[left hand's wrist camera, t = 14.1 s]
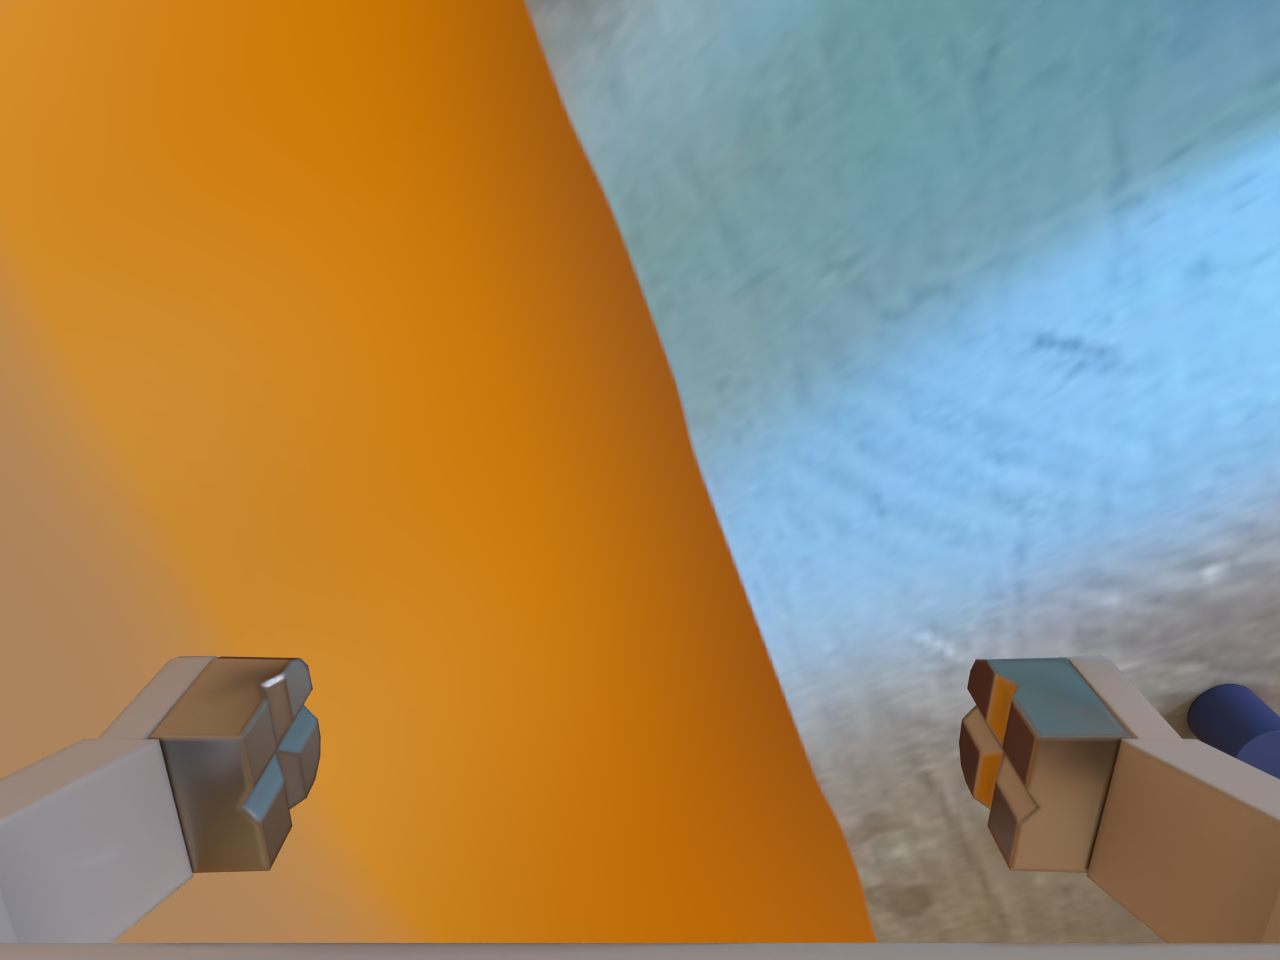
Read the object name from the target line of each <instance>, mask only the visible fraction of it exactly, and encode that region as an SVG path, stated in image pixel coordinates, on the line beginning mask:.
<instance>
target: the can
mask: <svg viewBox="0 0 1280 960" xmlns="http://www.w3.org/2000/svg"><path fill="white" fill-rule="evenodd" d="M1188 723H1189V727H1190V729H1191V730H1192V732H1193V733H1194V734H1195V735H1196V736H1197V737H1198V738H1199V739H1200V741H1201V742H1203V743H1205V744H1207V745H1209V746H1212V747H1214V748H1216V749H1218V750H1220V751H1222V752H1224V753H1226V754H1228V755H1230V756H1232V757H1234V758H1236V759H1238V760H1240V761H1242V762H1245V763H1247V764H1249V765H1251V766H1253V767H1255V768H1257V769H1259V770H1261V771H1263V772H1265V773H1267V774H1269V775H1271V776H1273V777H1276V778H1278V779H1280V717H1279V716H1278V715H1277V714H1276V713H1275V712H1274V711H1273V710H1271V709H1270V708H1269V707H1268V706H1267V705H1266V704H1265V703H1264V702H1263V701H1262V700H1260V699H1259V698H1258V697H1257V696H1256V695H1255V694H1254V693H1253V692H1252V691H1250V690H1249V689H1247V688H1245V687H1243V686H1239V685H1222V686H1218V687H1215V688H1212V689H1210V690H1208V691H1206V692H1205V693H1203V694H1202V695H1201V696H1200V697H1199V698H1198V699H1197V700H1196V701H1195V702H1194V703H1193V705H1192V706H1191V708H1190V711H1189V714H1188Z"/></svg>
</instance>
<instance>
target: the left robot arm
mask: <svg viewBox="0 0 1280 960" xmlns="http://www.w3.org/2000/svg"><path fill="white" fill-rule="evenodd" d="M312 689H313V688H312V683H311V678H310V673H309V668H308V665H307V664H306V663H305V662H304V661H303V660H302V659H301V658H264V657H216V656H189V657H177V658H174V659H170V660H169V661H168V662H167V663H166V664H165V665H164V667H163V668H162V669H161V670H160V671H159V672H158V673H157V674H156V675H155V676H154V678H153V679H152V680H151V681H150V682H149V683H148V684H147V685H146V686H145V687H144V689H143V690H142V691H141V692H140V693H139V694H138V695H137V696H136V697H135V698H134V699H133V701H132V702H131V703H130V704H129V705H128V706H127V707H126V708H125V709H124V710H123V712H122V713H121V714H120V715H119V716H118V717H117V718H116V719H115V720H114V722H113V723H112V724H111V725H110V726H109V727H108V728H107V729H106V730H105V731H104V732H103V734H102V735H101V736H100V737H99V738H98V739H83V740H81V741H79V742H77V743H75V744H73V745H71V746H68V747H66V748H64V749H62V750H60V751H58V752H56V753H54V754H52V755H50V756H48V757H46V758H44V759H42V760H39V761H37V762H35V763H33V764H31V765H29V766H27V767H25V768H23V769H21V770H19V771H17V772H15V773H13V774H10V775H8V776H7V777H4V778H2V779H0V960H1280V779H1278V778H1276V777H1273V776H1271V775H1269V774H1267V773H1265V772H1263V771H1261V770H1259V769H1257V768H1255V767H1253V766H1251V765H1249V764H1247V763H1245V762H1242V761H1240V760H1238V759H1236V758H1234V757H1232V756H1230V755H1228V754H1226V753H1224V752H1222V751H1220V750H1218V749H1216V748H1214V747H1212V746H1209V745H1207V744H1205V743H1203V742H1201V741H1199V740H1197V739H1182V738H1181V737H1180V736H1179V735H1178V734H1177V732H1176V731H1175V730H1174V729H1173V728H1172V727H1171V726H1170V725H1169V724H1168V723H1167V721H1166V720H1165V719H1164V718H1163V717H1162V716H1161V715H1160V714H1159V713H1158V712H1157V710H1156V709H1155V708H1154V707H1153V706H1152V705H1151V704H1150V703H1149V702H1148V701H1147V699H1146V698H1145V697H1144V696H1143V695H1142V694H1141V693H1140V692H1139V691H1138V690H1137V688H1136V687H1135V686H1134V685H1133V684H1132V683H1131V682H1130V681H1129V680H1128V679H1127V677H1126V676H1125V675H1124V674H1123V673H1122V672H1121V671H1120V670H1119V669H1118V668H1117V666H1116V665H1115V664H1114V663H1113V662H1112V661H1111V660H1109V659H1107V658H1104V657H1102V656H1081V657H1059V658H1025V659H977V660H976V661H975V663H974V665H973V667H972V669H971V671H970V677H969V682H968V687H967V689H968V691H969V692H970V694H971V696H972V698H973V699H974V701H975V703H976V704H977V705H976V706H975V707H974V708H973V709H972V710H971V711H970V712H969V713H968V714H967V715H966V716H965V717H964V718H963V719H962V724H961V732H960V740H959V747H960V759H961V767H962V770H963V774H964V777H965V781H966V783H967V785H968V788H969V790H970V792H971V794H972V796H973V798H974V799H976V800H977V801H979V802H980V803H982V804H983V805H984V806H986V807H987V808H989V809H990V816H989V822H988V828H989V830H990V832H991V834H992V835H993V837H994V839H995V841H996V843H997V845H998V847H999V849H1000V851H1001V853H1002V855H1003V857H1004V859H1005V861H1006V863H1007V865H1008V867H1009V869H1010V870H1011V871H1041V872H1077V873H1087V877H1088V878H1089V879H1091V880H1092V881H1093V882H1094V883H1096V884H1097V885H1098V886H1099V887H1100V888H1102V889H1103V890H1104V891H1105V892H1107V893H1108V894H1109V895H1110V896H1111V897H1113V898H1114V899H1115V900H1116V901H1117V902H1119V903H1120V904H1121V905H1122V906H1124V907H1125V908H1126V909H1127V910H1128V911H1130V912H1131V913H1132V914H1133V915H1134V916H1136V917H1137V918H1138V919H1139V920H1141V921H1142V922H1143V923H1144V924H1145V925H1147V926H1148V927H1149V928H1150V929H1151V930H1153V931H1154V932H1155V933H1156V934H1158V935H1159V936H1160V937H1161V938H1162V939H1164V940H1165V941H1166V942H1167V943H113V942H114V941H115V940H117V939H118V938H119V937H120V936H121V935H123V934H124V933H125V932H126V931H128V930H129V929H130V928H131V927H132V926H134V925H135V924H136V923H137V922H139V921H140V920H141V919H142V918H143V917H145V916H146V915H147V914H148V913H149V912H151V911H152V910H153V909H154V908H156V907H157V906H158V905H159V904H160V903H162V902H163V901H164V900H165V899H167V898H168V897H169V896H170V895H171V894H173V893H174V892H175V891H176V890H177V889H179V888H180V887H181V886H182V885H184V884H185V883H186V882H187V881H188V880H190V879H191V878H192V877H193V874H192V873H202V872H237V871H269V870H270V869H271V867H272V865H273V863H274V861H275V859H276V857H277V855H278V853H279V851H280V849H281V847H282V845H283V843H284V841H285V839H286V837H287V835H288V833H289V832H290V830H291V828H292V822H291V816H290V809H291V808H293V807H294V806H296V805H297V804H298V803H300V802H301V801H303V800H304V799H306V798H307V796H308V794H309V792H310V789H311V787H312V785H313V783H314V781H315V778H316V773H317V769H318V764H319V760H320V730H319V724H318V719H317V718H316V717H315V716H314V715H313V714H312V713H311V712H310V711H309V710H308V709H307V708H306V707H305V706H304V705H303V704H304V703H305V701H306V699H307V698H308V696H309V694H310V692H311V691H312Z"/></svg>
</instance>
